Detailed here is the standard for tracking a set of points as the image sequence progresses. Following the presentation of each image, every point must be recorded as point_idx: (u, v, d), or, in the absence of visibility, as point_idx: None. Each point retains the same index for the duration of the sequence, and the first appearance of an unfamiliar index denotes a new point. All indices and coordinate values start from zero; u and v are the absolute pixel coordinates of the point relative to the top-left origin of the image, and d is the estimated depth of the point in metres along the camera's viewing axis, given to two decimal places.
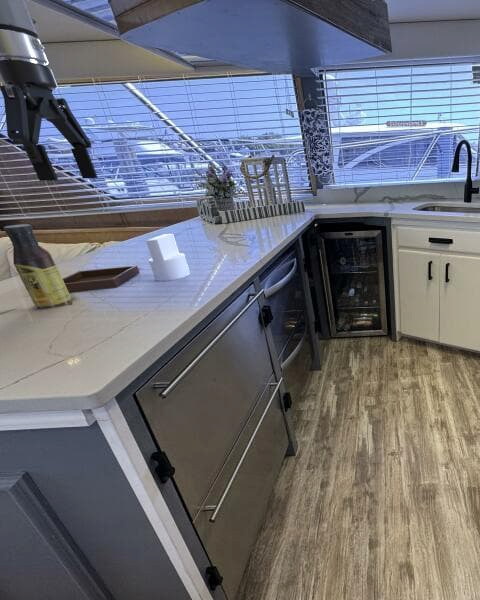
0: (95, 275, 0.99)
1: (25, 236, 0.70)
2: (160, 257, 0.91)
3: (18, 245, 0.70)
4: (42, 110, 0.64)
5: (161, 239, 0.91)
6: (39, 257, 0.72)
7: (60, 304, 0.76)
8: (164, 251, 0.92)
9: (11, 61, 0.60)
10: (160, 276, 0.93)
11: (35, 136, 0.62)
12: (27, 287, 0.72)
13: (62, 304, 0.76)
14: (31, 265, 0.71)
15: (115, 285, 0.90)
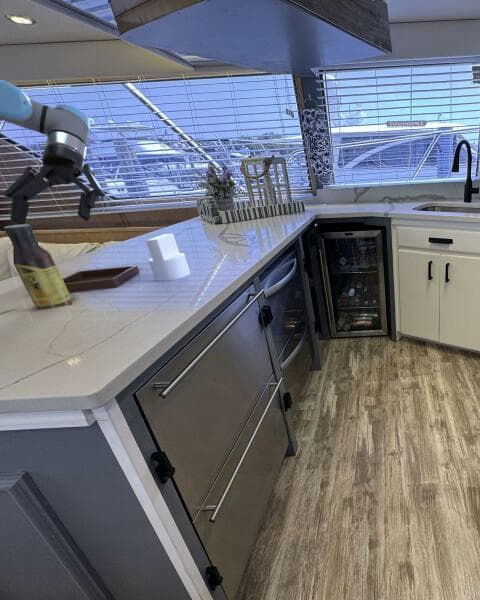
0: (95, 275, 0.99)
1: (25, 236, 0.70)
2: (160, 257, 0.91)
3: (18, 245, 0.70)
4: None
5: (161, 239, 0.91)
6: (39, 257, 0.72)
7: (60, 304, 0.76)
8: (164, 251, 0.92)
9: (80, 156, 0.88)
10: (160, 276, 0.93)
11: None
12: (27, 287, 0.72)
13: (62, 304, 0.76)
14: (31, 265, 0.71)
15: (115, 285, 0.90)
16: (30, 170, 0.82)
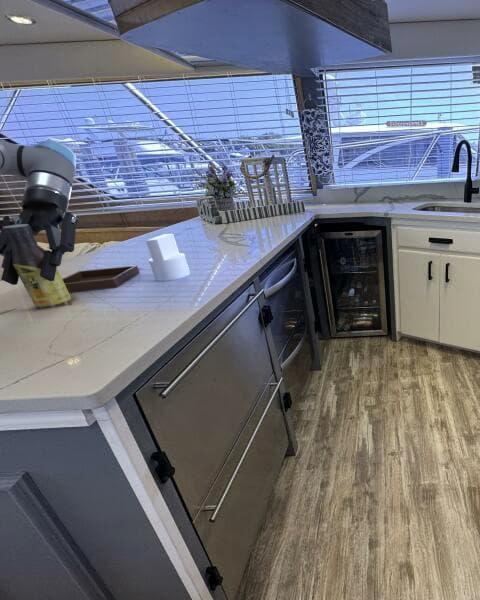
0: (95, 275, 0.99)
1: (24, 236, 0.70)
2: (160, 257, 0.91)
3: (17, 245, 0.70)
4: None
5: (161, 239, 0.91)
6: (38, 257, 0.71)
7: (60, 304, 0.76)
8: (164, 251, 0.92)
9: (65, 198, 0.80)
10: (160, 276, 0.93)
11: None
12: (27, 287, 0.72)
13: (62, 304, 0.76)
14: (30, 265, 0.71)
15: (115, 285, 0.90)
16: (9, 219, 0.74)
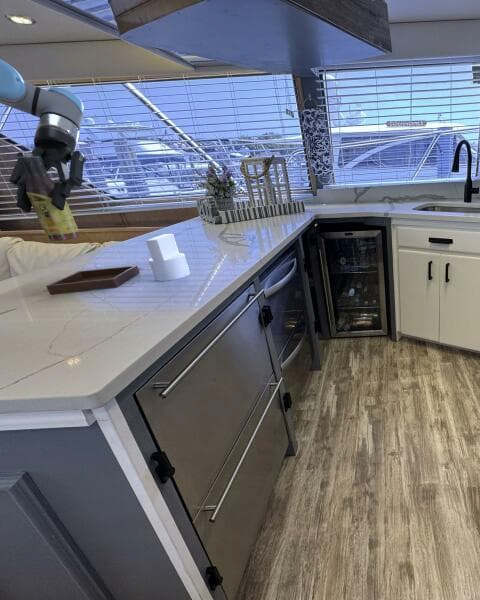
0: (95, 275, 0.99)
1: (37, 166, 0.76)
2: (160, 257, 0.91)
3: (30, 174, 0.76)
4: None
5: (161, 239, 0.91)
6: (49, 187, 0.78)
7: (69, 234, 0.83)
8: (164, 251, 0.92)
9: None
10: (160, 276, 0.93)
11: None
12: (39, 215, 0.79)
13: (71, 234, 0.83)
14: (42, 193, 0.77)
15: (115, 285, 0.90)
16: (22, 155, 0.81)
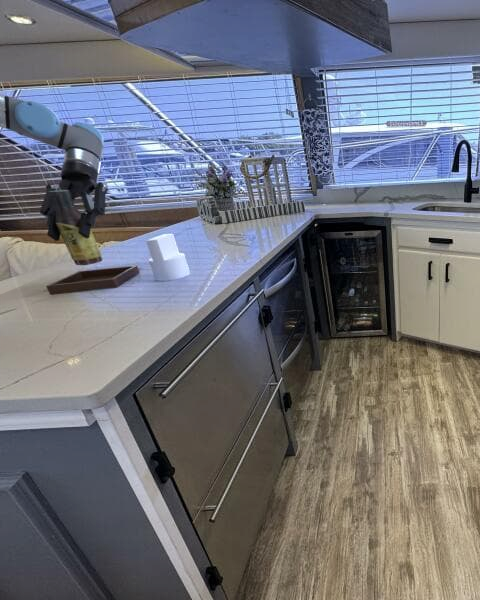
0: (95, 275, 0.99)
1: (65, 199, 0.84)
2: (160, 257, 0.91)
3: (60, 206, 0.84)
4: None
5: (161, 239, 0.91)
6: (76, 217, 0.86)
7: (93, 259, 0.90)
8: (164, 251, 0.92)
9: (95, 171, 0.94)
10: (160, 276, 0.93)
11: None
12: (67, 243, 0.87)
13: (95, 259, 0.91)
14: (70, 224, 0.85)
15: (115, 285, 0.90)
16: (51, 187, 0.89)
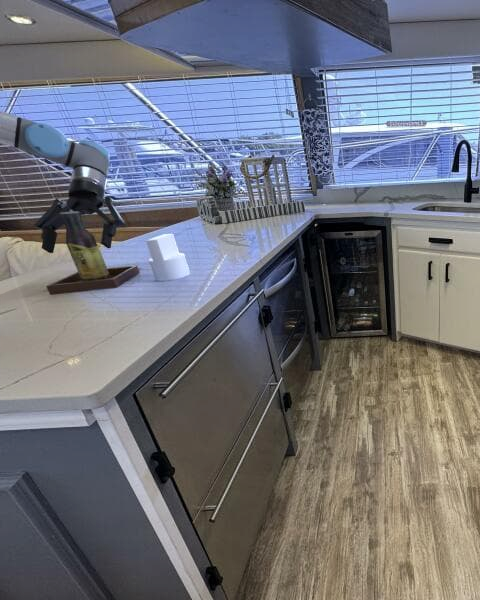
0: None
1: (76, 220, 0.87)
2: (160, 257, 0.91)
3: (70, 228, 0.86)
4: None
5: (161, 239, 0.91)
6: (86, 238, 0.88)
7: (101, 277, 0.93)
8: (164, 251, 0.92)
9: (102, 188, 0.96)
10: (160, 276, 0.93)
11: None
12: (76, 262, 0.89)
13: (103, 278, 0.93)
14: (80, 244, 0.87)
15: (115, 285, 0.90)
16: (58, 202, 0.91)
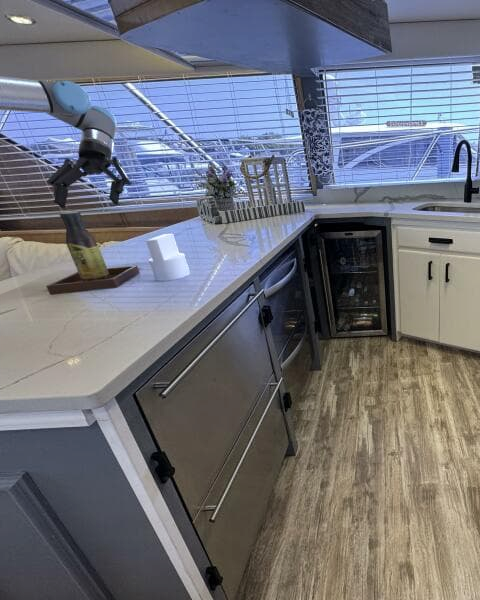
0: None
1: (76, 220, 0.87)
2: (160, 257, 0.91)
3: (70, 228, 0.86)
4: None
5: (161, 239, 0.91)
6: (86, 238, 0.88)
7: (101, 277, 0.93)
8: (164, 251, 0.92)
9: (109, 150, 1.03)
10: (160, 276, 0.93)
11: None
12: (76, 262, 0.89)
13: (103, 278, 0.93)
14: (80, 244, 0.87)
15: (115, 285, 0.90)
16: (68, 162, 0.97)
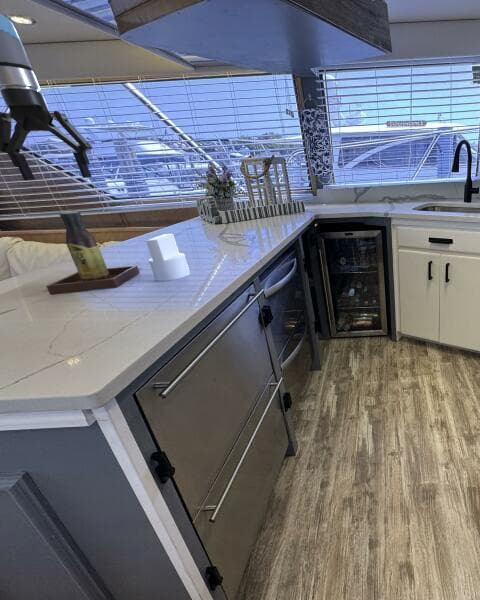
0: None
1: (76, 220, 0.87)
2: (160, 257, 0.91)
3: (70, 228, 0.86)
4: None
5: (161, 239, 0.91)
6: (86, 238, 0.88)
7: (101, 277, 0.93)
8: (164, 251, 0.92)
9: (39, 92, 0.83)
10: (160, 276, 0.93)
11: None
12: (76, 262, 0.89)
13: (103, 278, 0.93)
14: (80, 244, 0.87)
15: (115, 285, 0.90)
16: (2, 117, 0.82)
